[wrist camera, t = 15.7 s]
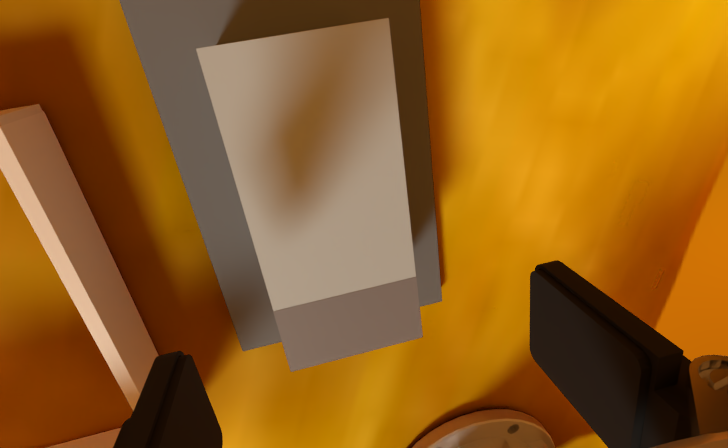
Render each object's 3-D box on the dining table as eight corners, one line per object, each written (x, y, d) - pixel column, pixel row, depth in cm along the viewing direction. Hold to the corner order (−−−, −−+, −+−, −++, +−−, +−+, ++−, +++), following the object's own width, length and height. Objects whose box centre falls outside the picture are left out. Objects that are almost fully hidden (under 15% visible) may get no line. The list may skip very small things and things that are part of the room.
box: (356, 22, 17) (389, 17, 12) (390, 275, 22) (422, 337, 17) (215, 45, 16) (195, 48, 11) (286, 300, 21) (290, 371, 17)
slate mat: (410, -59, 16) (414, -63, 16) (438, 295, 24) (441, 301, 23) (117, -20, 15) (111, -22, 14) (243, 343, 22) (242, 351, 22)
